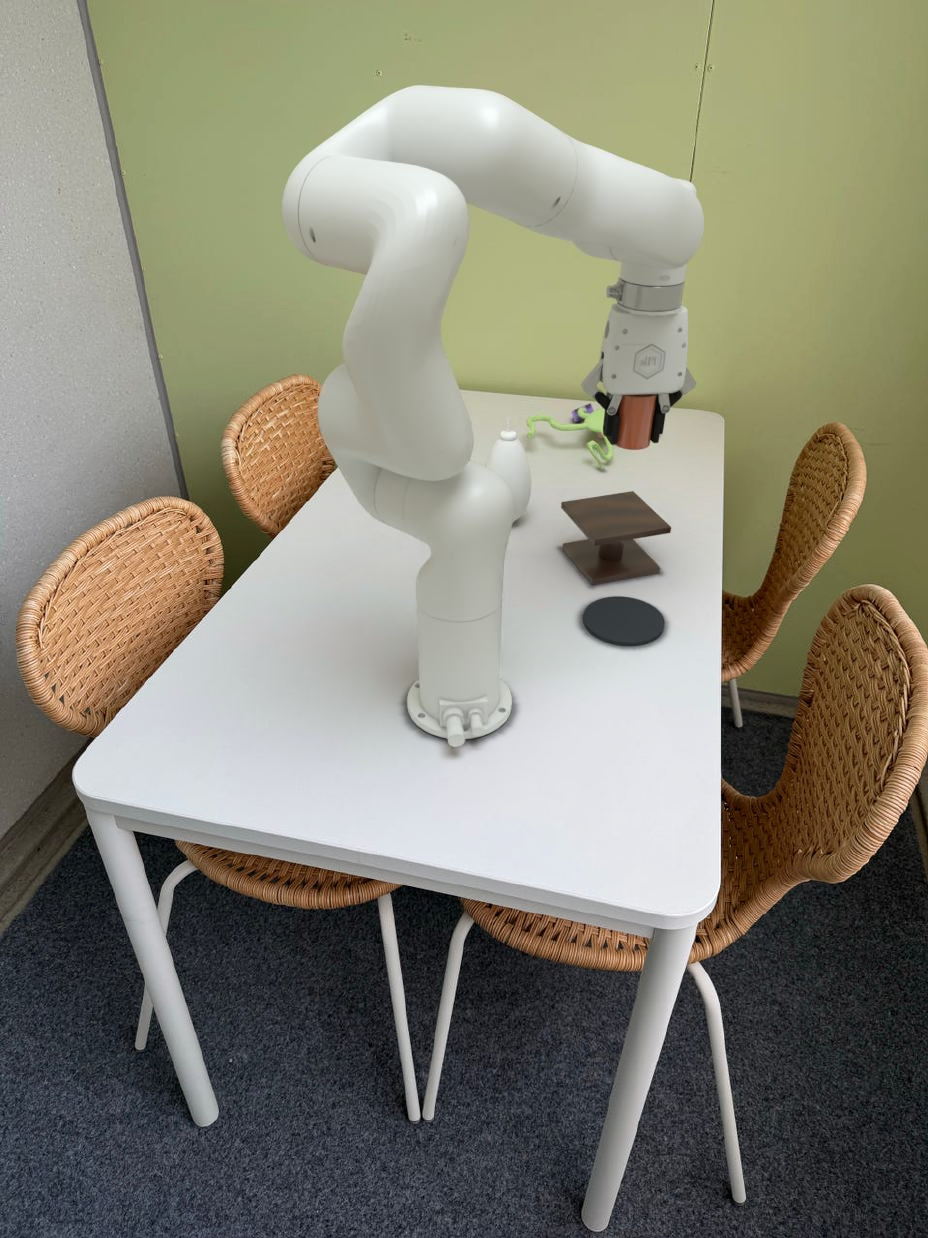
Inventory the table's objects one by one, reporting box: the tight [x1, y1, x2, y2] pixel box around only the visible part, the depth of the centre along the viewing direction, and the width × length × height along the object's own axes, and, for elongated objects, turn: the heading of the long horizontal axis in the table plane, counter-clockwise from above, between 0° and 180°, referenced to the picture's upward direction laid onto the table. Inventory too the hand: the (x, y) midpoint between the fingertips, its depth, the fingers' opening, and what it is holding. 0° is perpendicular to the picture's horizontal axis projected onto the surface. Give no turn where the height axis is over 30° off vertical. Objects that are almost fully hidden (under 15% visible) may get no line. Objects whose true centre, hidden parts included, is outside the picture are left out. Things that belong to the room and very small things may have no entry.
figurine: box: [525, 403, 615, 470], centre depth 167 cm, size 18×27×6 cm
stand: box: [560, 490, 672, 586], centre depth 130 cm, size 12×12×8 cm
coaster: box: [582, 595, 666, 647], centre depth 119 cm, size 11×11×1 cm
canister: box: [614, 394, 657, 451], centre depth 111 cm, size 5×5×7 cm
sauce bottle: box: [484, 416, 532, 523], centre depth 137 cm, size 8×8×18 cm
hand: (631, 438), depth 113 cm, fingers closed on canister, 4 cm apart
